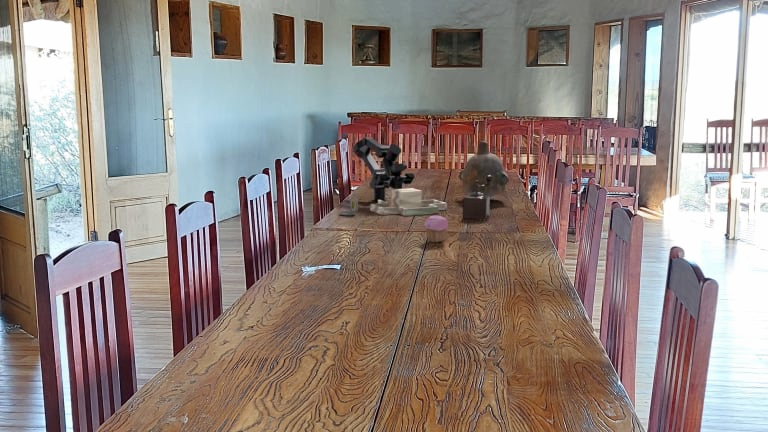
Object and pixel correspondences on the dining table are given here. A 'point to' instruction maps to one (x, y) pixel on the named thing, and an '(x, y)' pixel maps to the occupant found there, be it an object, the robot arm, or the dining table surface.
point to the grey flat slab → (426, 208)
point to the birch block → (406, 198)
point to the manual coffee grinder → (477, 202)
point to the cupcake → (436, 228)
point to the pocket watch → (352, 204)
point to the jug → (484, 172)
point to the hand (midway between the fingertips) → (401, 193)
